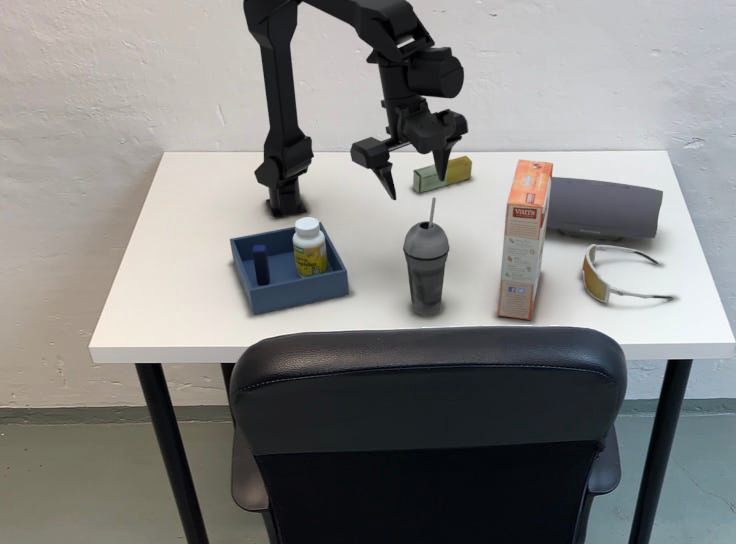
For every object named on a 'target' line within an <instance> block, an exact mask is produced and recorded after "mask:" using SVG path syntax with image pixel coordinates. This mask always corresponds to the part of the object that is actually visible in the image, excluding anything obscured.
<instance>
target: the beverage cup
mask: <svg viewBox="0 0 736 544" xmlns="http://www.w3.org/2000/svg"><path fill="white" fill-rule="evenodd" d="M431 200H432V201H431V206H430V207H431V208H430V214H429V221H428V220H427V221H425V220H424V221H420V222H417V223H416V224H414V225H412V227H410V228H409V230H408V231H407V232H406V234H405V237H404V241H403V246H402V250H403V253H404V254H403V255H404V258H405V261H406V266H407V276H408V283H409V293H410V301H411V305H412V310H413V312H414V313H415V314H417V315H419V316H422V317H432V316H434V315H437V314H438V313H439V312H440V310H441V305H442V304H441V303H442V299H443V298H442V297H443V290H444V289H443V287H444V279H445V272H446V271H445V270H446V263H447V261H448V256H449V252H450V243H449V237H448V236H447V233H446V232H445V230H444V229H443V228H442V227H441V226H440V225H439V224H437V223H435V222H434V215H435V208H436V202H437V198H436V197H432V199H431Z"/></svg>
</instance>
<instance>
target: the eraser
mask: <svg viewBox="0 0 736 544" xmlns="http://www.w3.org/2000/svg"><path fill="white" fill-rule="evenodd" d="M252 253H253V259H254V266H255V272H256V279H257V283H258V285H262V286H263V285H269V282H270V272H269V266H268V257H267V250H266V246H265V245H254V246H253V251H252Z"/></svg>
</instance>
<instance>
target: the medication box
mask: <svg viewBox="0 0 736 544" xmlns="http://www.w3.org/2000/svg"><path fill="white" fill-rule="evenodd" d="M472 167H473V160H471V158H469V156H467V155H463V156H459V157H456V158H452V159H449V161H448V166H447V170H446V175H445V180H444V181H443V182H441V181H440V180H439V178H438V175H437V172H436V168H435V163H434V164H431V165H427V166H423V167H420V168H416V169H413V171H412V173H413V177H412V188H413V190H414V191H415V192H416V193H417V194H420V193H424V192H426V191H431V190H434V189H438V188H442V187H445V186H448V185H451V184H455V183H458V182H459V183H460V182H462V181H465V180H468V179H469V180H470V179H471V178H472Z"/></svg>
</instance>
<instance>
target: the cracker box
mask: <svg viewBox="0 0 736 544" xmlns="http://www.w3.org/2000/svg"><path fill="white" fill-rule="evenodd" d="M553 169H554V163H553V162H549V161H539V160H537V161H536V160H528V159H518V160H517V163H516V167H515V171H514V174H513V178H512V182H511V186H510V189H509V194H508V197H507V200H506V206H505V207H506V208H505V219H504V229H503V244H502V255H501V256H502V257H501V266H500V268H501V269H500V280H499V290H498V301H497V302H498V303H497V316H499V317H505V318H513V319H520V320H527V321H530V320H532V315H533V310H534V305H535V301H536V295H537V290H538V285H539V282H540V281H539V280H540V276H541V268H542V263H543V254H544V248H545V247H544V246H545V239H546V232H547V227H546V224H547V216H548V207H549V198H550V189H551V180H552V177H553Z"/></svg>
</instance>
